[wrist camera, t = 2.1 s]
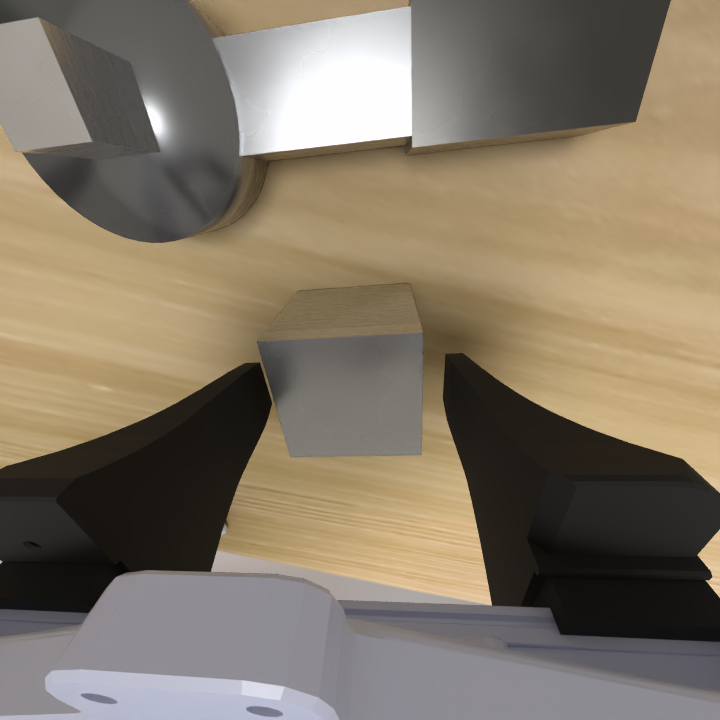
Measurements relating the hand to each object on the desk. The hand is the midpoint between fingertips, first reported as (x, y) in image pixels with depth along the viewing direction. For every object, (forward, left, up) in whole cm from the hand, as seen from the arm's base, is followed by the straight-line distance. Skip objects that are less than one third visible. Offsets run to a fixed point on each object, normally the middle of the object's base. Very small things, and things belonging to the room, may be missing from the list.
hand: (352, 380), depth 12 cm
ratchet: (+9, +1, -4) cm, 10 cm away
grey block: (0, 0, -4) cm, 4 cm away
